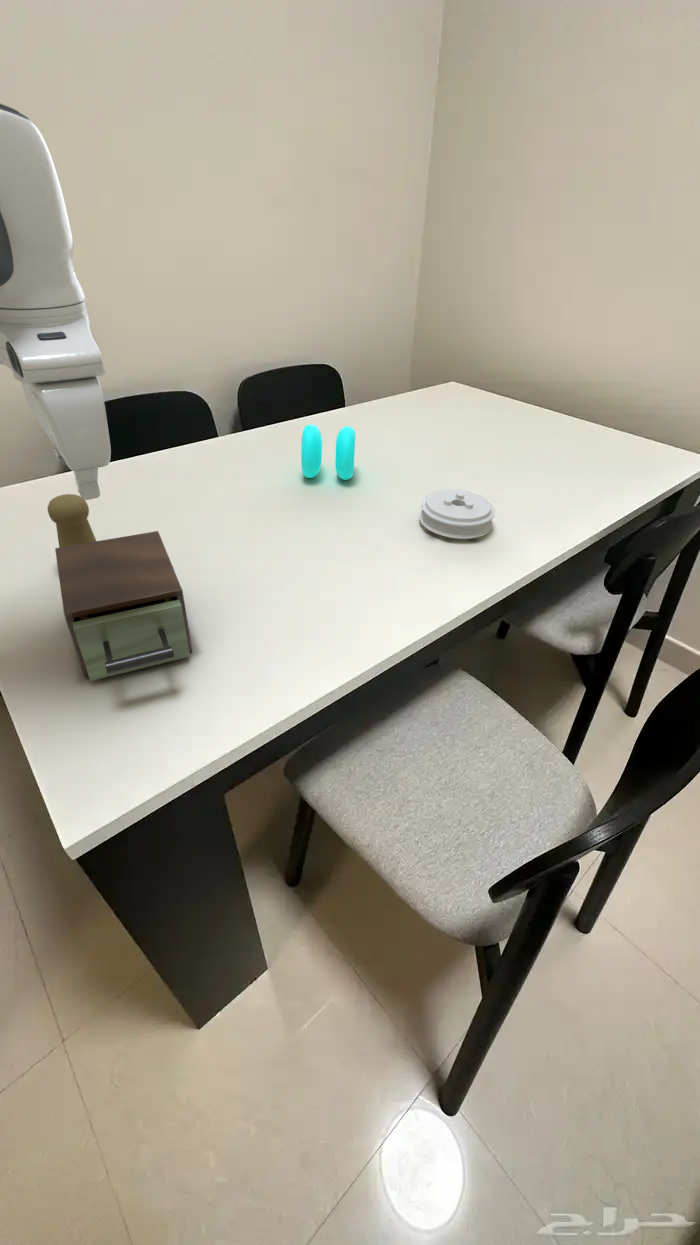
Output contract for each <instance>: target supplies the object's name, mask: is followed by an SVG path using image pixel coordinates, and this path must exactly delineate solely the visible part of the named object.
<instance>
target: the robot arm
mask: <svg viewBox="0 0 700 1245" xmlns="http://www.w3.org/2000/svg"><path fill="white" fill-rule="evenodd" d="M48 147H49V146H48V145H47V142H46V140H45V139H44V136H43V134H42V132H41V131H40V129H39V128H38V127H37V125H36V124H35V123H34V122H33V121H32V120H30V118H29V117H28V116H26V115H25V114H23V113H21V112H20V111H18V110H17V109H15V108H13V107H11V106H8V105H6V104H3V103H0V365H2V366H5V367H7V368H8V369H9V370H11V372H12V374H13V377H14V379H15V380H17V381H19V382H21V386H22V390H23V392H24V396H25V400H26V402H27V405H28V407H29V409H30V411H31V412H32V414H33V415H34V417H35V418H36V420H37V421H38V422H39V424H40V426H41V427H42V429H43V430H44V432H45V433H46V435H47V436H48V438H49V440H50V443H51V444H52V447H53V450H54V453H55V458H56V459H57V461H58V463H59V464H60V465H61V466H64V467H65V466H67V467H68V468H69V470H70V471H72V472H73V474H74V477H75V478H74V482H75V485H76V490H77V492H78V494H79V496H81V497H82V498H83V499H84V500H85V501H88V500H93V499H98V498H100V496H101V490H100V486H99V482H98V480H99V479H98V478H99V468H103V467H104V468H105V467H107V466H108V465H109V464H110V462H111V454H112V448H111V439H110V433H109V432H110V431H109V426H108V417H107V410H106V405H105V398H104V393H103V389H102V385H101V382H100V379H99V377H101V376H104V375H105V374H106V369H105V364H104V359H103V354H102V352H101V349H100V347H99V346H98V343H97V341H96V340H95V336H94V331H93V326H92V323H91V319H90V313H89V310H88V304H87V299H86V295H85V292H84V289H83V287H82V286H81V283H80V281H79V279H78V276H77V274H76V270H75V265H74V239H73V238H74V237H73V233H72V229H71V224H70V219H69V214H68V210H67V206H66V202H65V198H64V194H63V190H62V187H61V184H60V180H59V177H58V173H57V170H56V167H55V164H54V161H53V158H52V155H51V153H50V150H49V148H48Z"/></svg>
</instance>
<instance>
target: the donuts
mask: <svg viewBox="0 0 700 1245" xmlns="http://www.w3.org/2000/svg"><path fill="white" fill-rule="evenodd" d="M335 441H336V442H335V457H334V458H335V459H334V460H335V461H334V466H335V471H336V474H337V476H338V477H339V478H340V479H341V480H345V481H348V480H350V479H351V478H353V476H354V472H355V454H356V452H355V451H356V431H355V429H354V428H353V427H352V426H349V425H346V426H343V427H342V428H341V429H340V430H339V431H338V433H337V435H336V440H335ZM300 450H301V451H300V456H301V457H300V462H301V463H300V464H301V467H300V468H301V472H302V475H303V476H304V477H305V478H307V479H313V478H315V477H316V476H317V475H318V474H319V472H320V471H321V467H322V460H323V459H322V458H323V437H322V433H321V431H320V429H319V427H318V426H317V425H315V424H313V423H310V424H307V425H305V426H304V428H303V429H302V434H301V449H300Z"/></svg>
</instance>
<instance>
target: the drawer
mask: <svg viewBox="0 0 700 1245" xmlns="http://www.w3.org/2000/svg"><path fill="white" fill-rule="evenodd" d="M79 618H80V621H77V622H73V628H74V632H75V635H76V638H77V641H78V644H79V647H80V650H81V653H82V657H83V660H84V663H85V666H86V669H87V672H88V675H89V678H88V679H89V681H90V682H93V681H97V680H100V679H104V678H108V677H113V676H117V675H121V674H126V673H128V672H133V671H136V670H141V669H145V668H149V667H153V666H156V665H157V666H158V665H161V664H165V663H169V662H172V661H177V660H181V659H185V658H189V657H190V656H191V654H190V653H189V648H188V642H187V636H186V630H185V624H184V618H183V612H182V606H181V603H180V601H179V600H175V601H172V600H171V598H166V599H162V600H157V601H152V602H147V603H143V604H138V605H133V606H128V607H124V608H119V609H114V610H109V611H105V612H100V613H95V614H90V615H86V616H81V617H79Z"/></svg>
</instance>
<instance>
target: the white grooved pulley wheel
mask: <svg viewBox="0 0 700 1245" xmlns="http://www.w3.org/2000/svg"><path fill="white" fill-rule="evenodd" d="M420 502H421V503H420V508H421V511H420V513H419V522H420V523H421V525H422V526H423V527H424V528H425V529H427V530H428V531H430V532H431V533H434V534H437V535H438V536H442V537H446V538H450V539H459V540H466V539H467V540H468V539H476V538H480V537H483V536H486V535H487V534H489V533H490V532H491V530H492V528H493V522H492V520H493V519H494V517H495V514H496V510H495V507H494V505H493V504H492V503H490V501H489V500H488V499H487V498H485V497H484V496H483V495H480V494H478V493H476V492H473V491H470V490H466V489H458V488H445V489H444V488H442V489H437V490H435V491H433V492H431V493H429V494H428V495H426V496H424V497H423V498H422V500H421V501H420Z"/></svg>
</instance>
